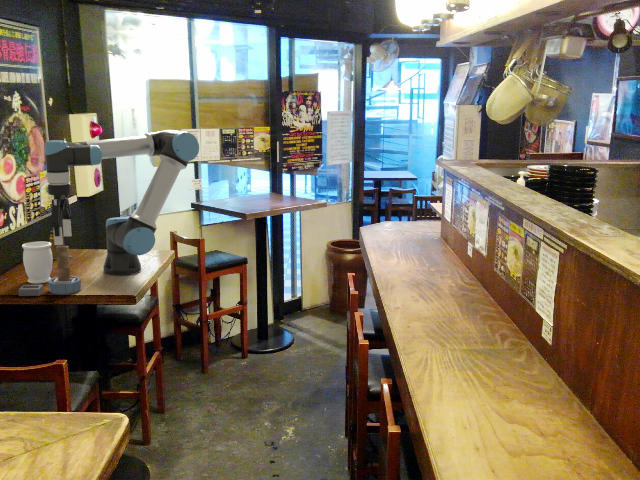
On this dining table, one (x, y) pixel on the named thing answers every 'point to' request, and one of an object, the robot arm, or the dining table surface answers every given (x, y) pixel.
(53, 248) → the condiment
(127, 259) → the robot arm
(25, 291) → the grey slotted block
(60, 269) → the brown long rectangular bar
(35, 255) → the jar
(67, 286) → the candle dish
